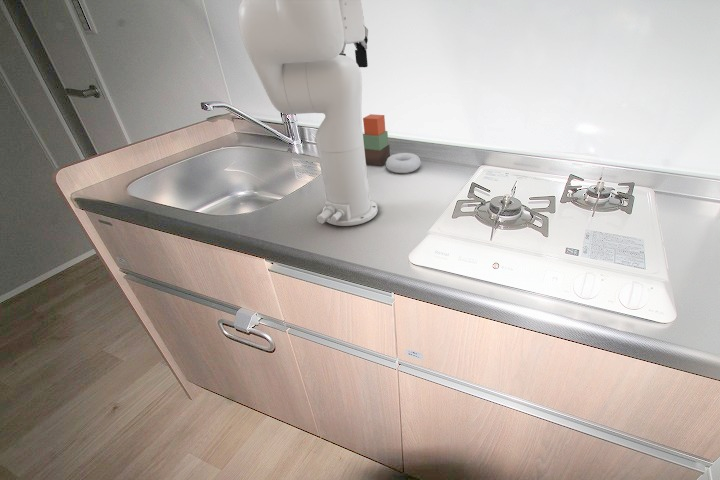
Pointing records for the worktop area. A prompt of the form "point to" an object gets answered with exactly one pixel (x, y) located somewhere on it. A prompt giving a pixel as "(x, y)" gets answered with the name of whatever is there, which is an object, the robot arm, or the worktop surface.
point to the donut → (403, 162)
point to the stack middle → (375, 141)
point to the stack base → (377, 156)
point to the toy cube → (374, 124)
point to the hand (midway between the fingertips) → (352, 69)
